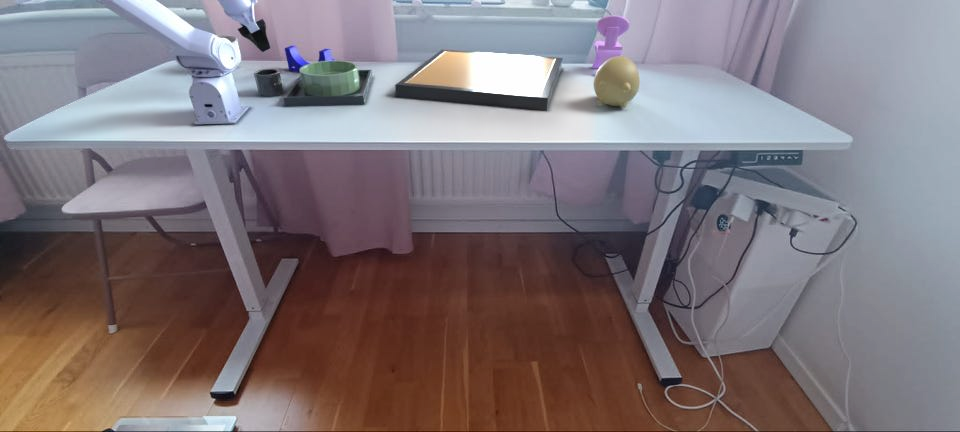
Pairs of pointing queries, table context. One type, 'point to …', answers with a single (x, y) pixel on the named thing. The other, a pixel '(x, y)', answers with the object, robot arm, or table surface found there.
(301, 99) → the tray
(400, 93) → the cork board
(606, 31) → the purple tall piece
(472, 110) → the table surface
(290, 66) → the blue curved stand
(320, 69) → the sage bowl
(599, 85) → the toy pig
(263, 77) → the black cup
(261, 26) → the robot arm
